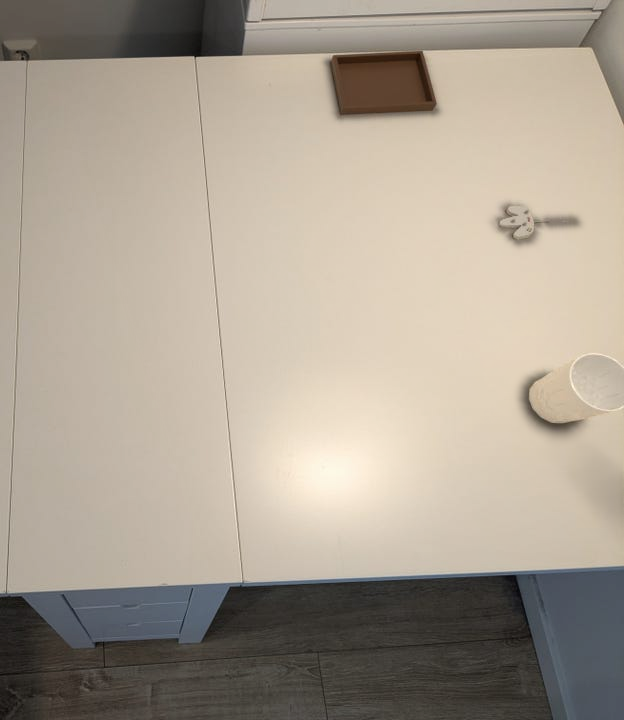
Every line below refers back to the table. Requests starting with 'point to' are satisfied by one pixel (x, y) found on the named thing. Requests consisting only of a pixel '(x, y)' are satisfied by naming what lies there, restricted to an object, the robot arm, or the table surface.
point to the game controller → (520, 221)
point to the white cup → (579, 389)
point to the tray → (382, 83)
